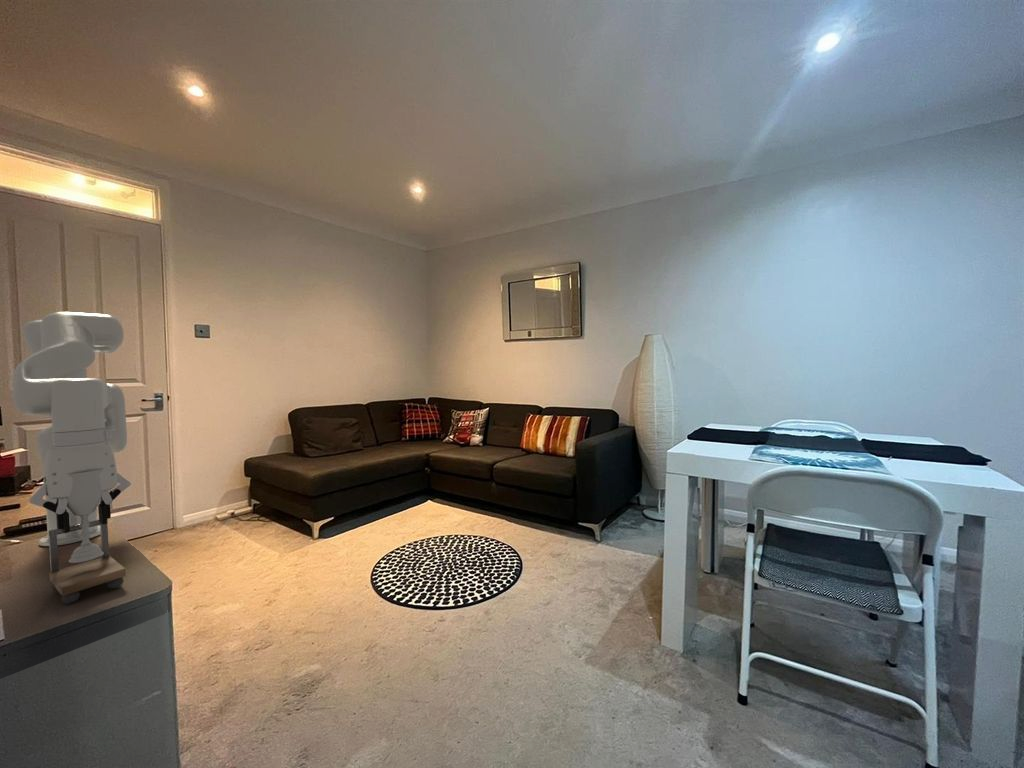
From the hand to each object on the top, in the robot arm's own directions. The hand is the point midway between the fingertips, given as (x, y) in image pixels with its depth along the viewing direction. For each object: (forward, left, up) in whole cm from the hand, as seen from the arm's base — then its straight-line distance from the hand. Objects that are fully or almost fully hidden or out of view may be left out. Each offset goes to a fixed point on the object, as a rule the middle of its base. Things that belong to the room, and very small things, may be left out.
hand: (84, 526), depth 85 cm
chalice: (0, 0, -7) cm, 7 cm away
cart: (0, 0, -13) cm, 13 cm away
